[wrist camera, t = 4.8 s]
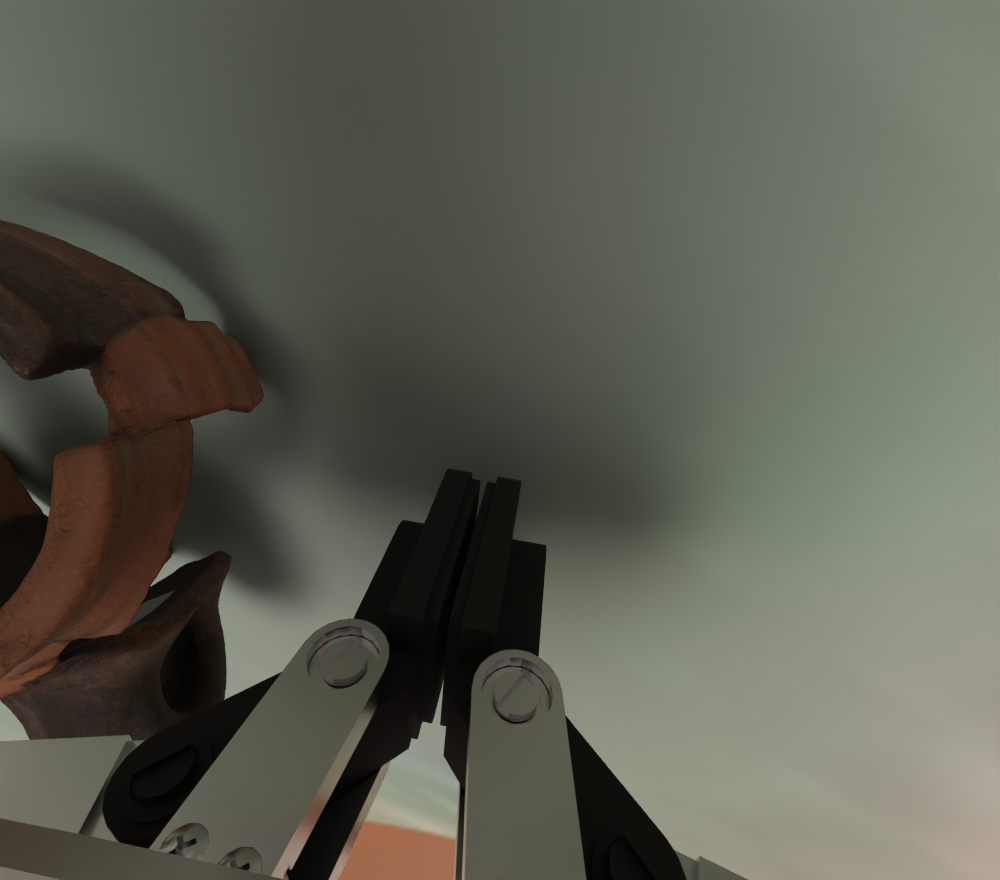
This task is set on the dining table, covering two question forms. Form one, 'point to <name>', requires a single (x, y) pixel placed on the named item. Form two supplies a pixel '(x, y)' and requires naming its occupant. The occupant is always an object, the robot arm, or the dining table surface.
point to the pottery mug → (110, 502)
